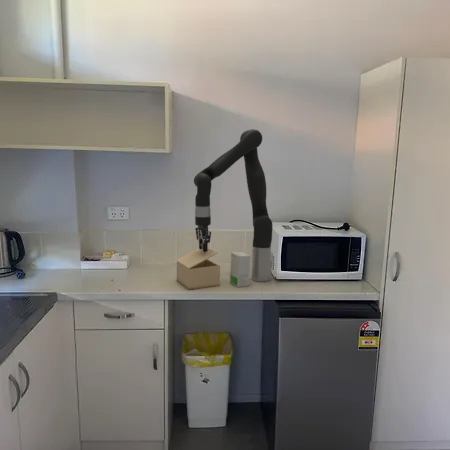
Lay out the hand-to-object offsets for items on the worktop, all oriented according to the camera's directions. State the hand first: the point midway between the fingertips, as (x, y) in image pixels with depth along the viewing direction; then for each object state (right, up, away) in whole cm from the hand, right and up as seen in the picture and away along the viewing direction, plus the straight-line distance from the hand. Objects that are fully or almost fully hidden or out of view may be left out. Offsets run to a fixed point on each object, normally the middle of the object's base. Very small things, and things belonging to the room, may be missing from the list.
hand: (203, 249), depth 200 cm
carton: (-3, -16, +1) cm, 17 cm away
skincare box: (+18, -17, +1) cm, 25 cm away
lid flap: (-3, -4, -1) cm, 5 cm away
